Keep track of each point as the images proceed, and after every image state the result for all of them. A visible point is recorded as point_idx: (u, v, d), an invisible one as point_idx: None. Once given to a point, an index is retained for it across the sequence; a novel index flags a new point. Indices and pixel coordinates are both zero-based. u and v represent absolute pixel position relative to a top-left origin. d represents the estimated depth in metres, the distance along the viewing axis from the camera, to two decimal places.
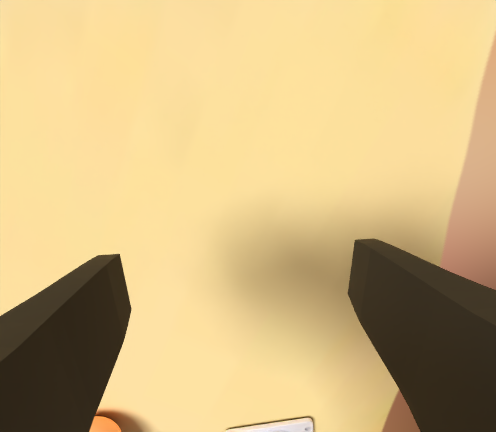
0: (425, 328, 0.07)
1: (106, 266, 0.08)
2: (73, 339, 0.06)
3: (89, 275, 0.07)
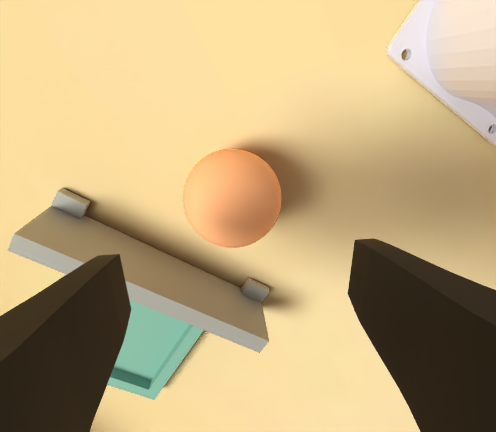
0: (425, 328, 0.07)
1: (106, 266, 0.08)
2: (73, 339, 0.06)
3: (89, 275, 0.07)
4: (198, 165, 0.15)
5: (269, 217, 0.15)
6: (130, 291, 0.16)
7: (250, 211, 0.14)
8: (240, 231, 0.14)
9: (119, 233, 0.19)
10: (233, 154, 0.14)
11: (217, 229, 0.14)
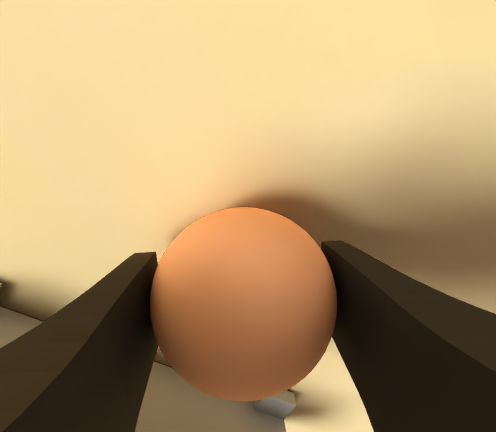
0: (378, 332, 0.07)
1: (147, 263, 0.08)
2: (124, 335, 0.07)
3: (133, 272, 0.07)
4: (178, 247, 0.07)
5: (320, 353, 0.07)
6: None
7: (285, 357, 0.06)
8: (263, 391, 0.07)
9: None
10: (249, 228, 0.07)
11: (215, 388, 0.07)
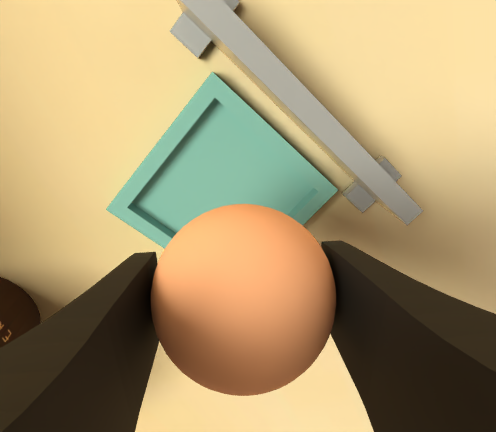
0: (378, 332, 0.07)
1: (147, 263, 0.08)
2: (123, 335, 0.07)
3: (133, 272, 0.07)
4: (181, 242, 0.07)
5: (320, 348, 0.07)
6: (298, 98, 0.13)
7: (288, 351, 0.07)
8: (264, 385, 0.07)
9: None
10: (252, 224, 0.07)
11: (217, 382, 0.07)
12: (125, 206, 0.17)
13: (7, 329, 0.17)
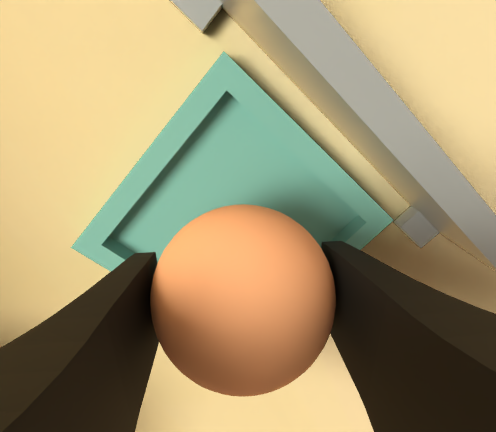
0: (378, 332, 0.07)
1: (147, 263, 0.08)
2: (124, 335, 0.07)
3: (133, 272, 0.07)
4: (180, 243, 0.07)
5: (320, 349, 0.07)
6: (365, 90, 0.08)
7: (287, 351, 0.07)
8: (264, 386, 0.07)
9: None
10: (252, 225, 0.07)
11: (217, 383, 0.07)
12: (99, 242, 0.12)
13: None
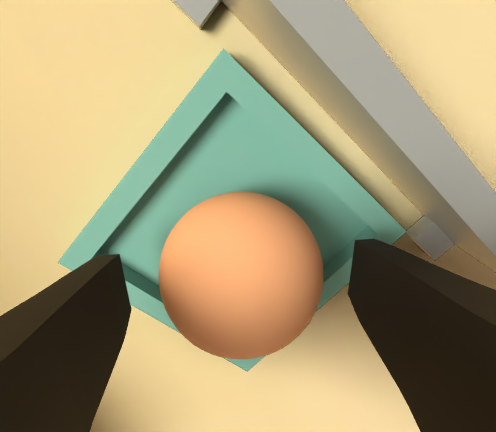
0: (425, 328, 0.07)
1: (106, 266, 0.08)
2: (73, 339, 0.06)
3: (89, 275, 0.07)
4: (186, 224, 0.08)
5: (308, 316, 0.08)
6: (384, 92, 0.07)
7: (279, 316, 0.08)
8: (259, 347, 0.08)
9: None
10: (249, 207, 0.08)
11: (218, 344, 0.08)
12: (88, 256, 0.11)
13: None
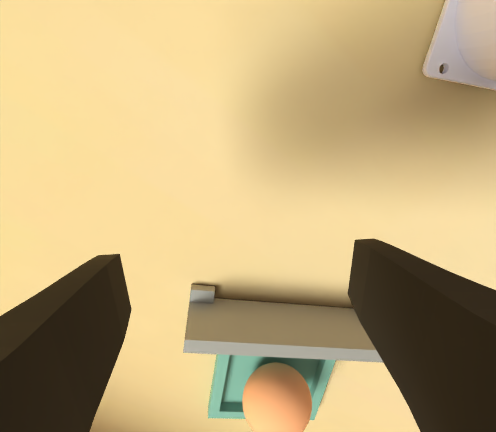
0: (425, 328, 0.07)
1: (106, 266, 0.08)
2: (73, 339, 0.06)
3: (89, 275, 0.07)
4: (245, 402, 0.22)
5: (306, 416, 0.21)
6: (279, 351, 0.19)
7: (291, 427, 0.20)
8: None
9: (244, 302, 0.22)
10: (262, 389, 0.21)
11: None
12: (217, 410, 0.25)
13: None
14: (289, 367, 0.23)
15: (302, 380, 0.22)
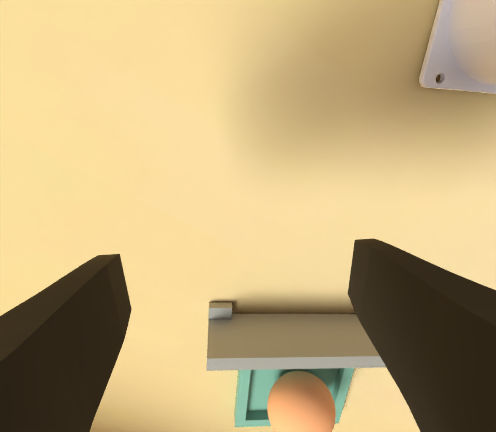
0: (425, 328, 0.07)
1: (106, 266, 0.08)
2: (73, 339, 0.06)
3: (89, 275, 0.07)
4: (270, 412, 0.22)
5: (330, 422, 0.21)
6: (299, 363, 0.20)
7: None
8: None
9: (261, 315, 0.23)
10: (286, 399, 0.22)
11: None
12: (244, 419, 0.26)
13: None
14: (310, 375, 0.23)
15: (324, 387, 0.23)
